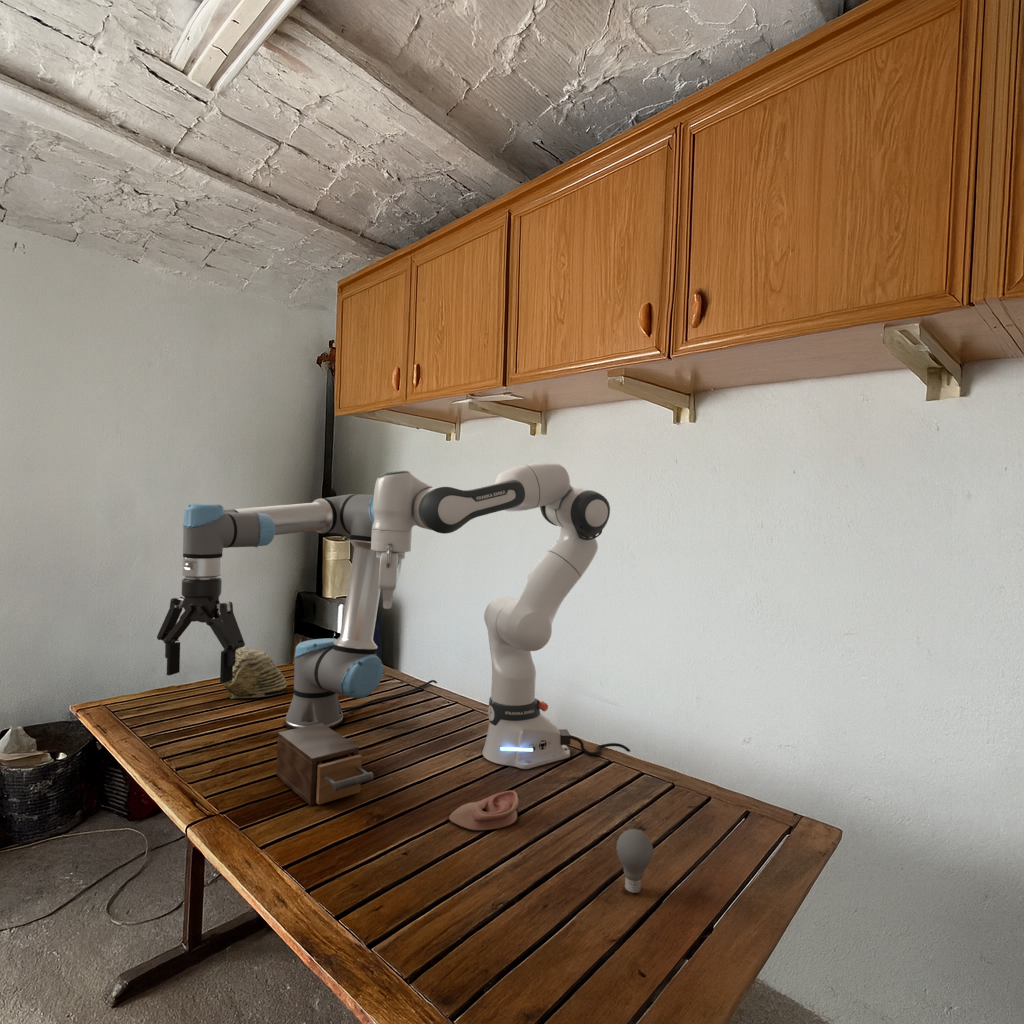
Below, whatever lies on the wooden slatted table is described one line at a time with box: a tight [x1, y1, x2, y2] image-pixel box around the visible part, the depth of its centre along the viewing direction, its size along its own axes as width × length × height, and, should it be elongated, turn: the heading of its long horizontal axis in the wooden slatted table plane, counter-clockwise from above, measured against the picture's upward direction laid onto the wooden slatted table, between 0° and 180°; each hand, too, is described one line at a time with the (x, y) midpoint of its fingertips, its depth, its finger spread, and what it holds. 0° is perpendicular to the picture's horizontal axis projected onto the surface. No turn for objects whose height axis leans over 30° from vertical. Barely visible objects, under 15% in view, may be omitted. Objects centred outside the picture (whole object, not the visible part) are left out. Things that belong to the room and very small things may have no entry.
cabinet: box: [275, 723, 360, 806], centre depth 140 cm, size 18×11×10 cm, turn 42°
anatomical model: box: [448, 790, 519, 831], centre depth 128 cm, size 13×4×12 cm
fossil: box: [222, 646, 288, 699], centre depth 198 cm, size 9×18×15 cm, turn 132°
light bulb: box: [615, 828, 654, 894], centre depth 106 cm, size 6×6×10 cm
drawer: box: [315, 754, 375, 806], centre depth 135 cm, size 23×9×8 cm, turn 42°
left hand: (199, 677), depth 133 cm, fingers open, 13 cm apart
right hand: (388, 604), depth 142 cm, fingers open, 8 cm apart
